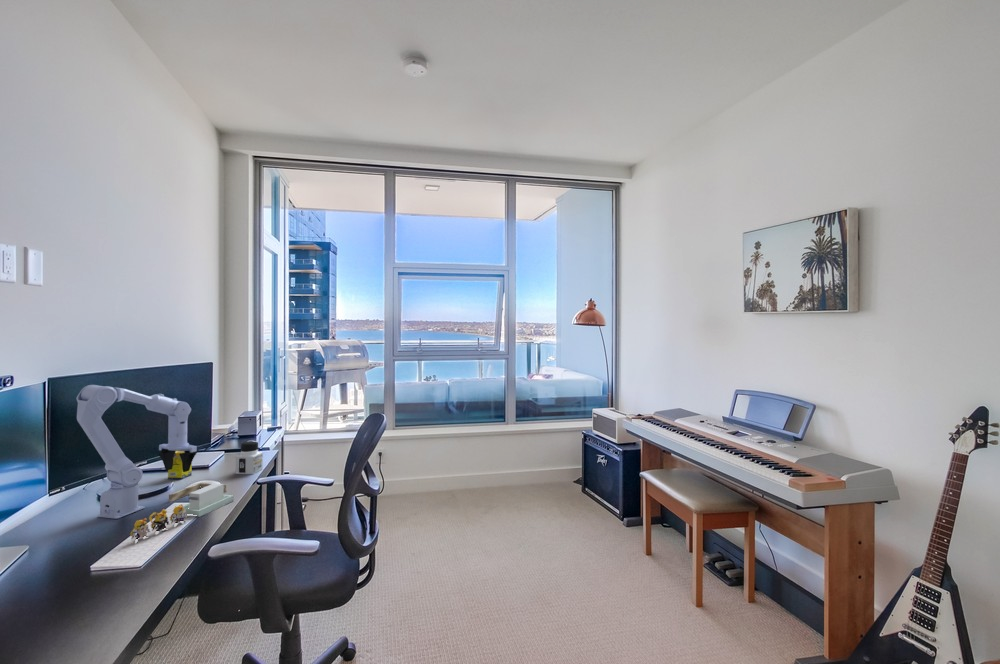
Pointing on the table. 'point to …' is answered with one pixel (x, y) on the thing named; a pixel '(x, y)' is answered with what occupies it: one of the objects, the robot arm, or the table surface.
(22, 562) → the table surface
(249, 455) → the container
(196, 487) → the oak bay
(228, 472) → the table surface
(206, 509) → the tray
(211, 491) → the white rectangular brick
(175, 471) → the supplement box
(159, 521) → the figurine set
